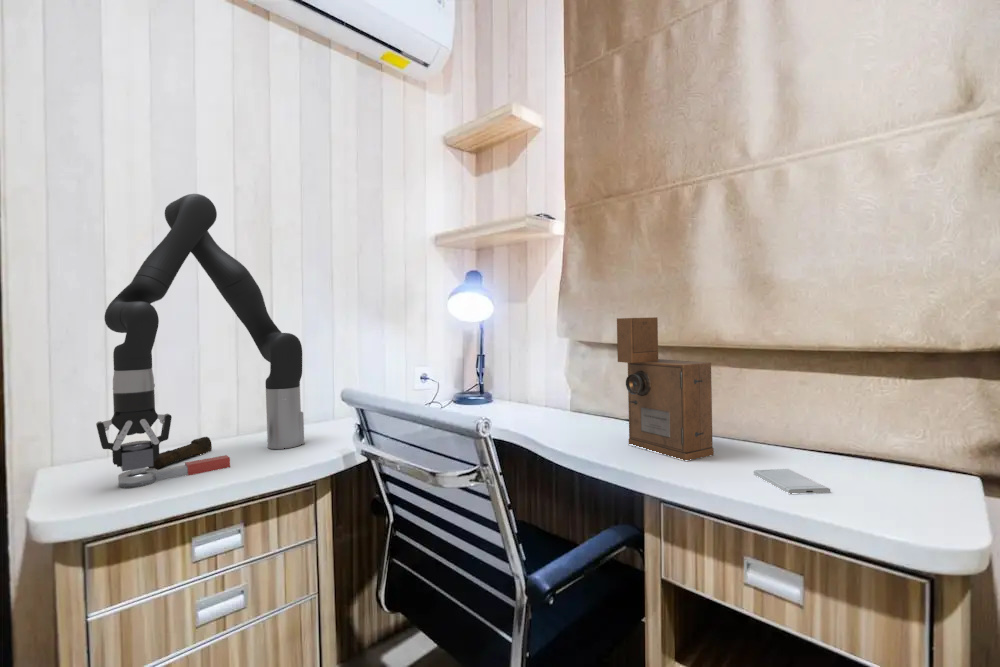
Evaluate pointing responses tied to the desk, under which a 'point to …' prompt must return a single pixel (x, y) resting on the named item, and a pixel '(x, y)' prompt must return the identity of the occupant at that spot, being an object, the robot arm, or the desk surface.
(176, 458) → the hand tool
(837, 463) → the desk surface
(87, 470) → the desk surface
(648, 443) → the vintage camera
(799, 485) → the hard drive
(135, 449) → the block with domed cap
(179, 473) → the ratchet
